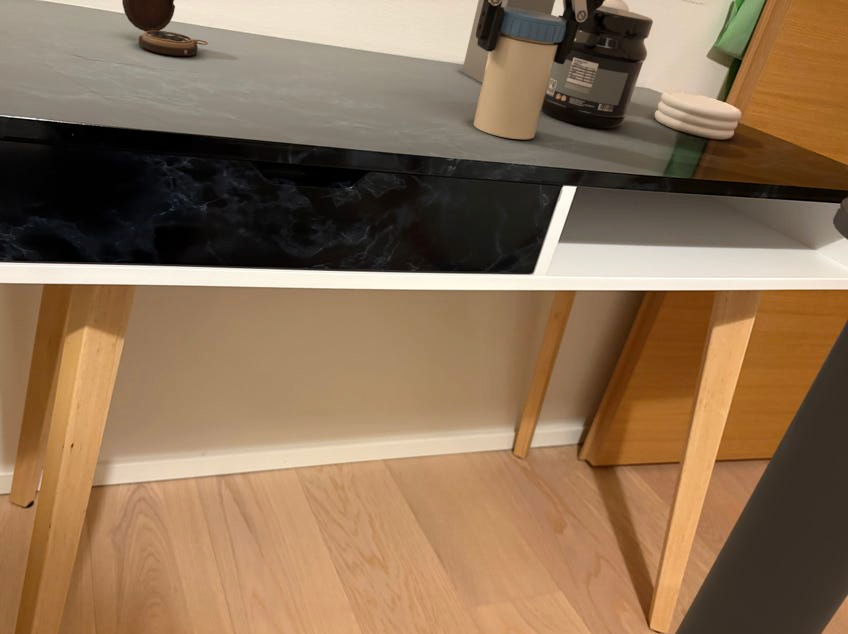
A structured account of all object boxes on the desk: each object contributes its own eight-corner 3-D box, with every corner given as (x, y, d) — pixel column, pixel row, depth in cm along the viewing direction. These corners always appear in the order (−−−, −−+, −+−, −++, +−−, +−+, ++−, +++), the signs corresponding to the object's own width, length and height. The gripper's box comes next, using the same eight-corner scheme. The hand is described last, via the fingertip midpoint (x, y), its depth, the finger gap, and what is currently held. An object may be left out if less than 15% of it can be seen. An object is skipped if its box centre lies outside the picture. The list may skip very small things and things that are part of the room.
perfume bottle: (504, 76, 110) (541, -69, 101) (530, 90, 105) (572, -62, 96) (461, 72, 108) (496, -79, 99) (486, 85, 102) (525, -72, 93)
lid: (544, 32, 82) (550, 12, 81) (574, 46, 76) (579, 24, 75) (481, 23, 80) (485, 3, 79) (506, 36, 74) (511, 14, 73)
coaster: (745, 139, 103) (757, 112, 101) (705, 142, 97) (717, 113, 95) (679, 116, 109) (689, 89, 107) (638, 116, 103) (647, 88, 101)
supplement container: (600, 112, 101) (633, 10, 95) (636, 136, 92) (675, 26, 86) (522, 99, 99) (551, -5, 93) (552, 123, 90) (586, 9, 84)
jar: (544, 142, 81) (574, 30, 76) (485, 136, 79) (512, 21, 74) (520, 124, 86) (546, 19, 81) (464, 118, 84) (487, 10, 79)
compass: (160, 58, 82) (164, -19, 79) (118, 38, 87) (120, -35, 83) (223, 58, 88) (229, -14, 84) (180, 39, 92) (185, -30, 88)
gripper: (643, -136, 76) (581, 60, 84) (473, -180, 71) (427, 32, 80) (686, -133, 69) (614, 77, 78) (503, -182, 64) (449, 48, 73)
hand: (520, 53), depth 79 cm, fingers closed on lid, 6 cm apart
